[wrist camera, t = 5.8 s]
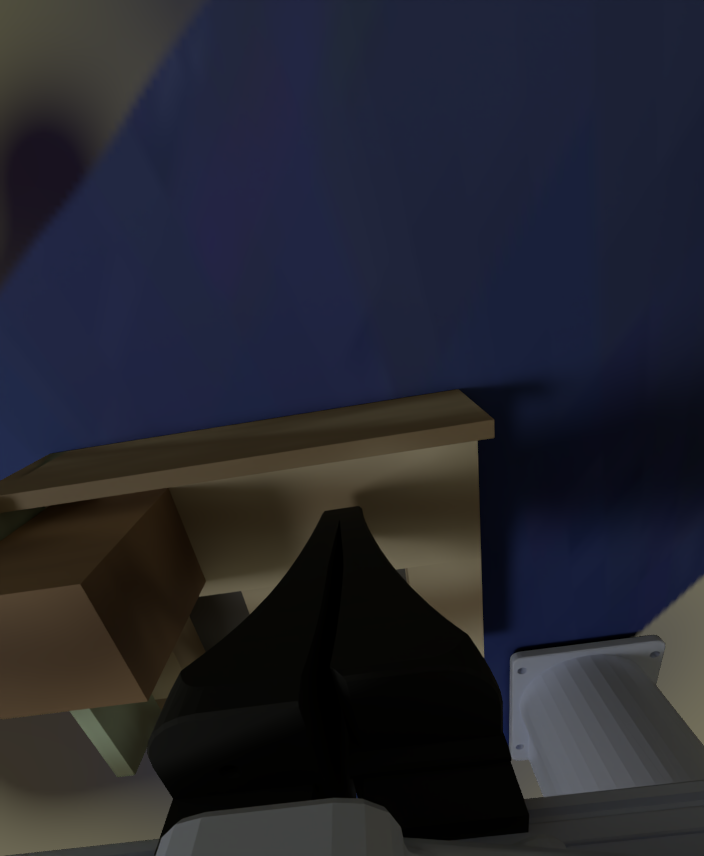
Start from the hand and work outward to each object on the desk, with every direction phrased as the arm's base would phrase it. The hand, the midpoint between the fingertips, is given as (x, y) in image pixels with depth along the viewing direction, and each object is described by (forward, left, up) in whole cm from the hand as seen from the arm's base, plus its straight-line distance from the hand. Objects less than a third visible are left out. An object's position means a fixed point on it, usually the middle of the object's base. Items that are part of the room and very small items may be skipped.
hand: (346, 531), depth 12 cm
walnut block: (0, +9, -1) cm, 9 cm away
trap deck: (-3, +3, -3) cm, 6 cm away
